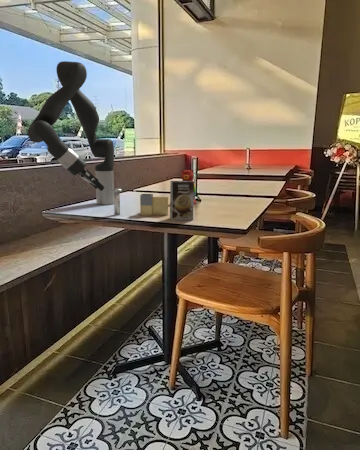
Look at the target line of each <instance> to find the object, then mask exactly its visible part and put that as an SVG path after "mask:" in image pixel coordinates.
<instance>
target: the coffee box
mask: <svg viewBox="0 0 360 450" xmlns="http://www.w3.org/2000/svg"><path fill="white" fill-rule="evenodd" d="M193 181H194V180H193ZM193 181H182V180H170V192H169V193H170V194H169V195H170V198H169V219H170V220H171V221H174V222H175V221H193V220H194V205H195V204H194V183H195V181H194V182H193Z"/></svg>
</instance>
